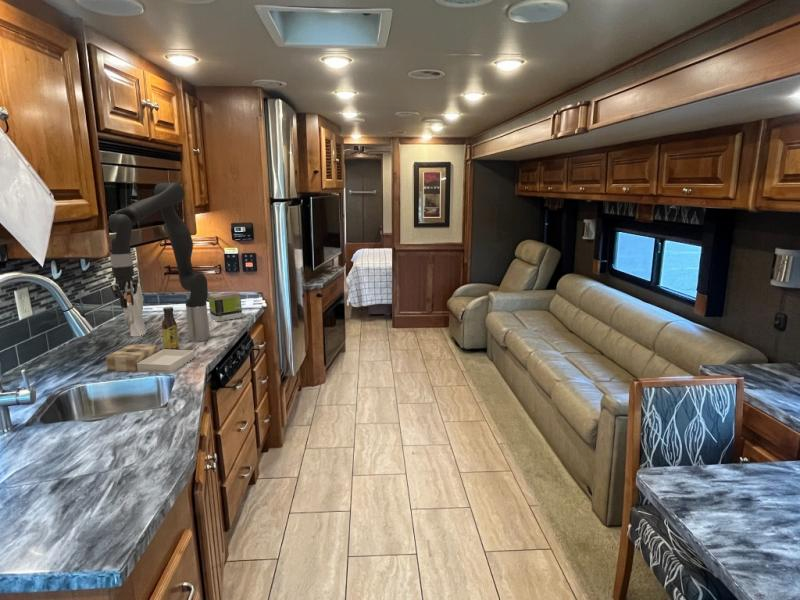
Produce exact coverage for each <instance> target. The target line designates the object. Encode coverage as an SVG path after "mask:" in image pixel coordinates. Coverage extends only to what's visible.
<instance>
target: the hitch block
mask: <svg viewBox="0 0 800 600" xmlns="http://www.w3.org/2000/svg"><path fill="white" fill-rule="evenodd" d="M159 351H160V350H159V345H158V344H141V343H140V344H139V343H131V344H129V345H126V346H124V347H123V348H120V349H118V350H115V351H113V352H111V353H109V354H108V355H106V356H105V360H106V367H107V368H106V369H107V371H113V370H114V372H115V371H116V372H117V371H118V372H121V371H122V372H133V373H134V372H138V369H137V363H139V362H141V361H142V360H144V359H146V358H148V357H150V356H152V355H154V354H155V353H157V352H159Z"/></svg>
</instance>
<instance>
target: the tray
mask: <svg viewBox="0 0 800 600" xmlns="http://www.w3.org/2000/svg"><path fill="white" fill-rule="evenodd" d="M193 358H194V359H195V351H194V350H188V349H178V350H170V349H164V348H163V349H161V350H159V352H157V353H155V354H154V355H152V356H150V357H148V358H146V359H144V360H142V361H141V362H139V363H137V369H138V370H137V373H139V372H140V373H159V374H172V373H174V372H175V371H177V370H178V369H180V368H182V367H183V366H185V365H186V364H188V363H190V362H191V361H193V360H194V359H193ZM192 359H193V360H192ZM190 360H191V361H190ZM187 362H188V363H187ZM184 364H185V365H184Z"/></svg>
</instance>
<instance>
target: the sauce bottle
mask: <svg viewBox="0 0 800 600" xmlns="http://www.w3.org/2000/svg"><path fill="white" fill-rule="evenodd" d="M162 311H163V317H164V318H163V320H162V322H161V327H162V328H161V331H162V333H161V334H162V343H163V344H162V345H163V349H170V350H179V347H180V345H179V334H178V323H177V321H176V319H175V317H174V316H175V315H174V307H173V306H165V307H163V308H162Z"/></svg>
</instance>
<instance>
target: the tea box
mask: <svg viewBox="0 0 800 600" xmlns="http://www.w3.org/2000/svg"><path fill="white" fill-rule="evenodd" d="M208 303H209V305H208V306H209V313H210V319H211V318H212V319H213V320H215V321H222V322H224V321H223V320H228V321H230V320H229V319H233V320H235V319H234V318H239V317H242V318H243V309H242V297H241V293H239V292H237V291H233V290H232V291H226V292H219V293H213V294H211V293H210V294H208ZM212 319H211V320H212ZM239 319H240V318H239ZM213 320H212V321H213ZM215 321H214V322H215Z"/></svg>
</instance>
